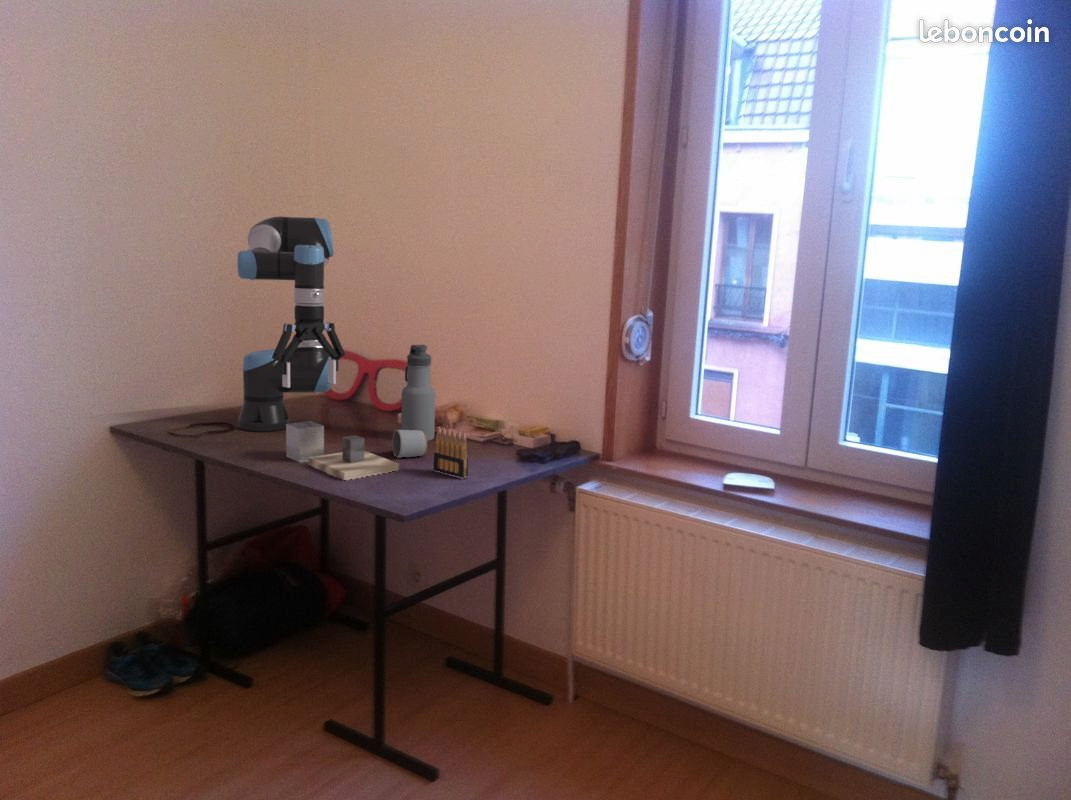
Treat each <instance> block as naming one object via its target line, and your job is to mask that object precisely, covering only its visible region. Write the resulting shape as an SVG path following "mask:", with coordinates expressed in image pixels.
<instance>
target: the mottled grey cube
mask: <svg viewBox="0 0 1071 800" xmlns="http://www.w3.org/2000/svg"><path fill="white" fill-rule="evenodd" d="M285 441H286V444H285V446H286V447H285V449H286V451H285V453H286V458H288V459H290V458H291V459H290V460H293V461H295V462H296V463H297V462H298V463H299V462H300V463H305V462H308V457H315V456H321V455H325V425H322V424H320V423H318V422H314V421H312V420H307V421H301V422H300V421H299V422H293V423H292V422H291V423H290V424H286V428H285Z"/></svg>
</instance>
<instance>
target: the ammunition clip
mask: <svg viewBox="0 0 1071 800" xmlns="http://www.w3.org/2000/svg"><path fill="white" fill-rule="evenodd" d="M436 431H437V432H436V439H435V452H433V467H432V468H433V469H432V470H436V471H440V472H443V473H447V474H451V475H455V476H459V477H463V478H464V477H466V476H468V477H469V459H468V458H467V457H468V456H467V454H468V447H467V436H466V432H463V433H462V435H461V432H460V430H458V431H457V433H456V430H455V429H453V430H452V432H451V429H450V428H448V429H447V431H446V428H445V427H443V428H442V430H441V427H440V426H438V427H437V430H436Z"/></svg>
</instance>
